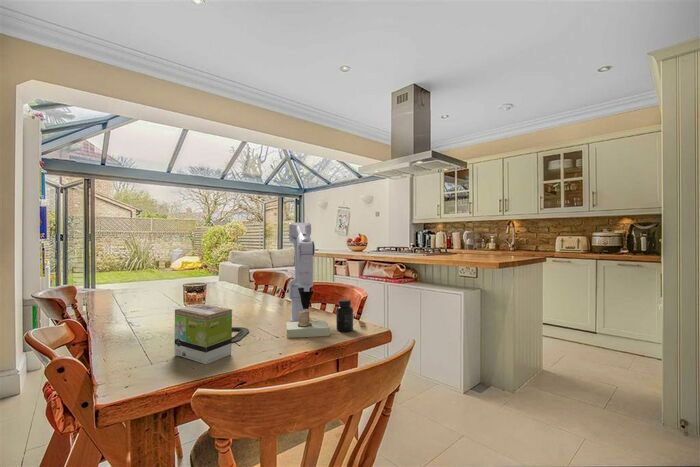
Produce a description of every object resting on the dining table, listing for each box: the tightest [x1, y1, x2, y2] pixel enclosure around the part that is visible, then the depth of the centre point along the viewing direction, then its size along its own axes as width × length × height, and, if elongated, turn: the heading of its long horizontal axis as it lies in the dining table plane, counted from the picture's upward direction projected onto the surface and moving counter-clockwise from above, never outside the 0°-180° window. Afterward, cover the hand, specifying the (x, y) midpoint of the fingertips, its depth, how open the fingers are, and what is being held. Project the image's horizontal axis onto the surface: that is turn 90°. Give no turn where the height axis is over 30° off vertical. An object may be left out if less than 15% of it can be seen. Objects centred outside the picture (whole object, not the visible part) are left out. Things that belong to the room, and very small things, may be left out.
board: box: [285, 320, 331, 339], centre depth 129 cm, size 11×16×3 cm
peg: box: [298, 311, 310, 327], centre depth 129 cm, size 4×4×8 cm
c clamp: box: [232, 326, 250, 344], centre depth 122 cm, size 20×17×3 cm
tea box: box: [173, 303, 233, 365], centre depth 103 cm, size 15×10×15 cm, turn 62°
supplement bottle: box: [335, 298, 354, 333], centre depth 133 cm, size 7×7×12 cm
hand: (305, 307), depth 129 cm, fingers open, 5 cm apart
